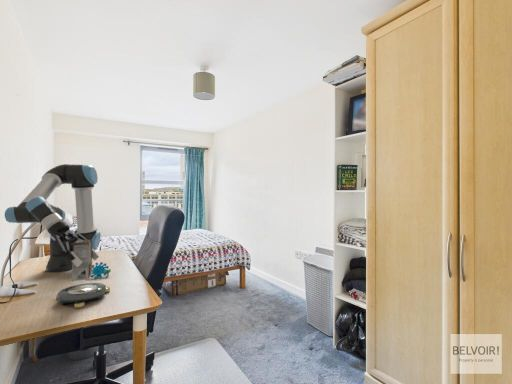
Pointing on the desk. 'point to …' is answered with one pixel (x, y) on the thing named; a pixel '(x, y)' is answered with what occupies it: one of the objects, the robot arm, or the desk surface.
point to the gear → (100, 270)
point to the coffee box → (85, 255)
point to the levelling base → (82, 294)
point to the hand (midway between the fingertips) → (89, 261)
